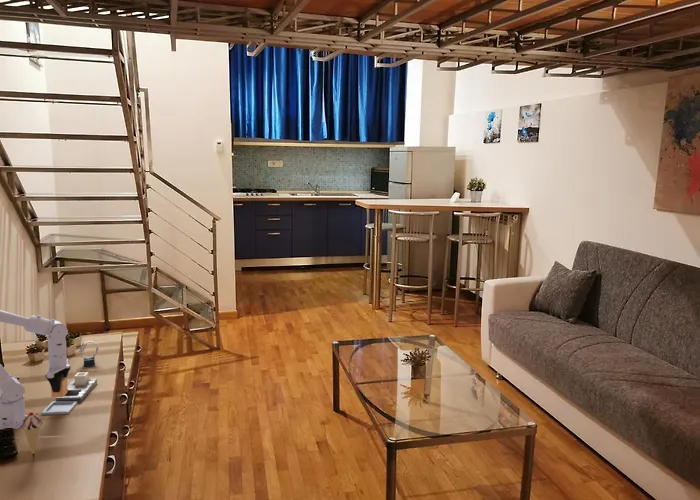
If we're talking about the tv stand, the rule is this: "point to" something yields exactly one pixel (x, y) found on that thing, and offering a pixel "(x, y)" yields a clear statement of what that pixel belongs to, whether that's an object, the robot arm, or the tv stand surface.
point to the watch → (88, 360)
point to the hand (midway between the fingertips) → (59, 389)
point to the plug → (61, 389)
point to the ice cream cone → (32, 429)
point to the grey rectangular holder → (78, 391)
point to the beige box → (81, 378)
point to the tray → (59, 407)
